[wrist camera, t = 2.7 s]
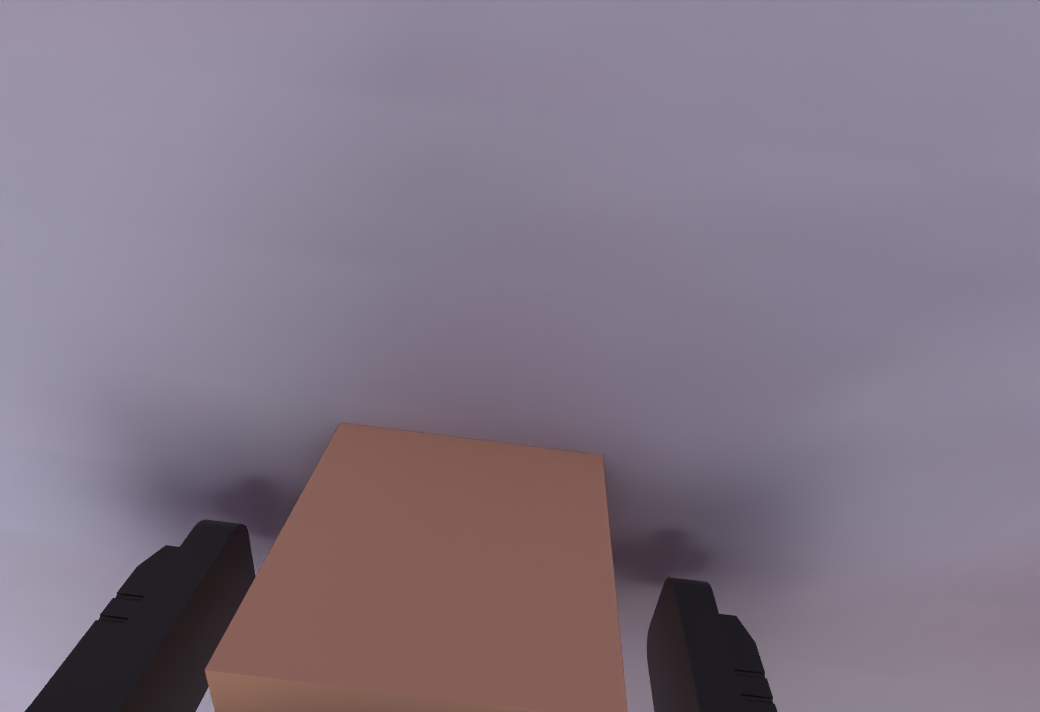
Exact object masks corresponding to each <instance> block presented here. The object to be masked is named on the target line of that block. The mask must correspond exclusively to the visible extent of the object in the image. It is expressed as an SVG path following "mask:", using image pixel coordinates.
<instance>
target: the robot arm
mask: <svg viewBox="0 0 1040 712" xmlns="http://www.w3.org/2000/svg"><path fill="white" fill-rule="evenodd" d="M254 579H255V571H254V565H253V559H252V553H251V547H250V541H249V535H248V530H247V527H246V526H245V525H244V524H237V523H229V522H221V521H212V520H202V521H200V522H199V523H197V524H196V525H195V527H194V528H193V529H192V531H191V532H190V533H189V535H188V536H187V538H186V539H185V540H184V542H183V543H182V545H181V546H180V547H176V546H168V545H166V546H164V547H163V548H162V549H160V550H159V551H158V552H156V553H155V554H153V555H152V556H151V557H149V558H148V559H147V560H145V561H144V562H143V563H141V564H140V565H139V566H137V568H136V569H135V570H134V571H133V573H132V574H131V575H130V577H129V578H128V579H127V580H126V582H125V583H124V584H123V586H122V587H121V588H120V590H119V591H118V592H117V596H116V598H113V599H112V600H111V601H110V602H109V604H108V605H107V606H106V608H105V609H104V610H103V612H102V613H101V614H100V618H99V620H96V621H95V622H94V623H93V625H92V626H91V627H90V628H89V630H88V631H87V632H86V634H85V635H84V636H83V637H82V639H81V640H80V641H79V643H78V644H77V645H76V647H75V648H74V649H73V650H72V652H71V653H70V654H69V656H68V657H67V658H66V660H65V661H64V662H63V663H62V665H61V666H60V667H59V669H58V670H57V671H56V672H55V674H54V675H53V676H52V678H51V679H50V680H49V682H48V683H47V684H46V685H45V687H44V688H43V689H42V691H41V692H40V693H39V694H38V696H37V697H36V698H35V700H34V701H33V702H32V704H31V705H30V706H29V707H28V708H27V709H26V711H25V712H196V710H197V708H198V706H199V704H200V702H201V700H202V698H203V696H204V694H205V692H206V691H207V689H208V687H209V685H208V681H207V678H206V674H205V668H206V667H207V665H208V663H209V661H210V659H211V657H212V656H213V654H214V652H215V650H216V648H217V647H218V645H219V643H220V641H221V639H222V637H223V636H224V634H225V632H226V630H227V628H228V626H229V625H230V623H231V621H232V619H233V617H234V616H235V614H236V612H237V610H238V608H239V606H240V605H241V603H242V601H243V599H244V597H245V595H246V594H247V592H248V590H249V588H250V586H251V585H252V583H253V581H254ZM647 660H648V668H649V675H650V683H651V690H652V697H653V704H654V711H655V712H777V709H776V706H775V704H773V701H772V699H773V697H772V693H771V690H770V687H769V684H768V681H767V679H765V671H764V668H763V665H762V662H761V659H760V656H759V652H758V649H757V646H756V643H755V642H754V640H753V639H752V637H751V636H750V635H749V633H748V632H747V630H746V629H745V628H744V626H743V625H742V623H741V622H740V621H739V619H738V618H737V616H733V615H724V614H719V613H718V609H717V605H716V602H715V598H714V594H713V591H712V588H711V586H710V584H709V583H708V582H703V581H695V580H687V579H678V578H670V577H668V578H667V579H666V580H665V582H664V585H663V588H662V591H661V594H660V597H659V600H658V603H657V606H656V609H655V612H654V615H653V617H652V620H651V623H650V627H649V631H648V638H647Z"/></svg>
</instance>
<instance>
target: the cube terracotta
mask: <svg viewBox="0 0 1040 712" xmlns="http://www.w3.org/2000/svg"><path fill="white" fill-rule="evenodd" d="M205 674H206V678H207V681H208V685H209V689H210V693H211V697H212V701H213V705H214V709H215V712H628V711H627V700H626V690H625V680H624V670H623V659H622V649H621V639H620V629H619V618H618V608H617V598H616V588H615V577H614V567H613V557H612V547H611V537H610V526H609V516H608V506H607V496H606V485H605V475H604V465H603V455H597V454H589V453H581V452H573V451H565V450H557V449H549V448H541V447H533V446H524V445H516V444H508V443H500V442H492V441H484V440H476V439H468V438H460V437H452V436H444V435H436V434H428V433H420V432H412V431H404V430H396V429H388V428H380V427H372V426H363V425H355V424H347V423H340V424H339V426H338V428H337V430H336V431H335V433H334V435H333V437H332V439H331V441H330V442H329V444H328V446H327V448H326V450H325V452H324V453H323V455H322V457H321V459H320V461H319V462H318V464H317V466H316V468H315V470H314V472H313V473H312V475H311V477H310V479H309V481H308V482H307V484H306V486H305V488H304V490H303V492H302V493H301V495H300V497H299V499H298V501H297V503H296V504H295V506H294V508H293V510H292V512H291V513H290V515H289V517H288V519H287V521H286V523H285V524H284V526H283V528H282V530H281V532H280V534H279V535H278V537H277V539H276V541H275V543H274V544H273V546H272V548H271V550H270V552H269V554H268V555H267V557H266V559H265V561H264V563H263V565H262V566H261V568H260V570H259V572H258V574H257V575H256V577H255V579H254V581H253V583H252V585H251V586H250V588H249V590H248V592H247V594H246V595H245V597H244V599H243V601H242V603H241V605H240V606H239V608H238V610H237V612H236V614H235V616H234V617H233V619H232V621H231V623H230V625H229V626H228V628H227V630H226V632H225V634H224V636H223V637H222V639H221V641H220V643H219V645H218V647H217V648H216V650H215V652H214V654H213V656H212V657H211V659H210V661H209V663H208V665H207V667H206V668H205Z"/></svg>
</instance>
